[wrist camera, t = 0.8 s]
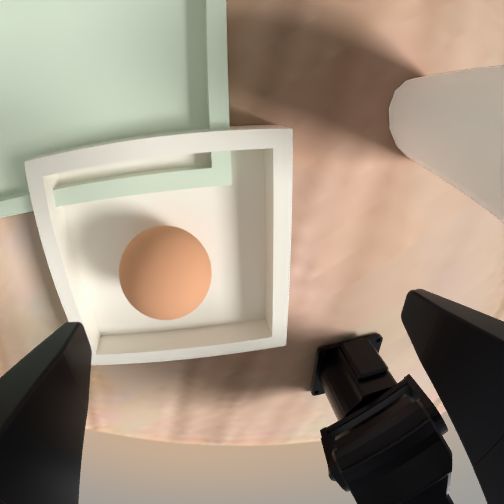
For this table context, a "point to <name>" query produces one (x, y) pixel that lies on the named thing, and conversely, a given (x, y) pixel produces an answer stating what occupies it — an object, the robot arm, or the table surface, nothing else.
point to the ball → (165, 272)
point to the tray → (109, 88)
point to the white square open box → (182, 216)
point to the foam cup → (456, 130)
